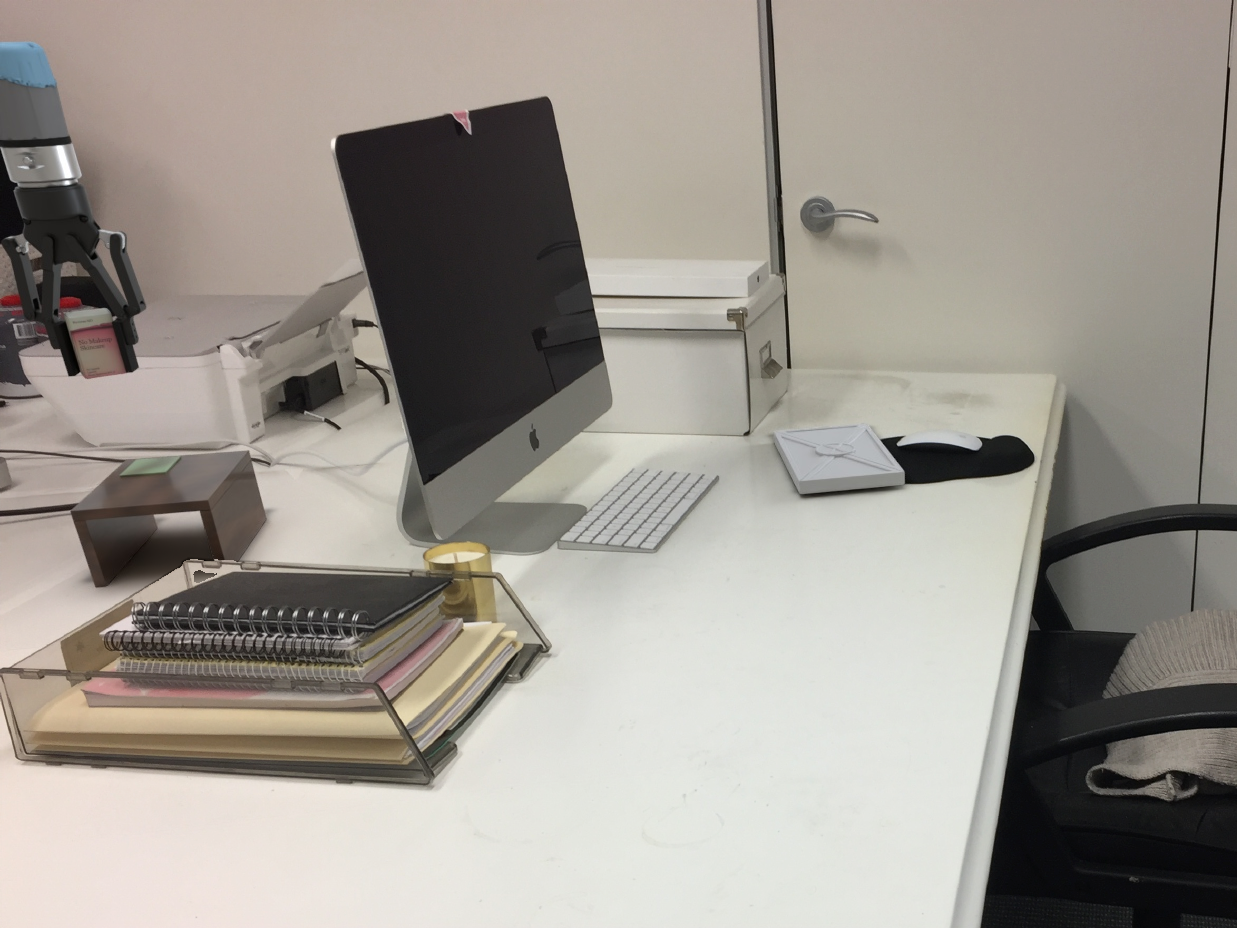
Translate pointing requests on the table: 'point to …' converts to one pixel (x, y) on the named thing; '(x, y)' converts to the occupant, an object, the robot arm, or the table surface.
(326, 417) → the table surface
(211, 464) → the shelf
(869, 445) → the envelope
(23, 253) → the robot arm
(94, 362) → the small box
